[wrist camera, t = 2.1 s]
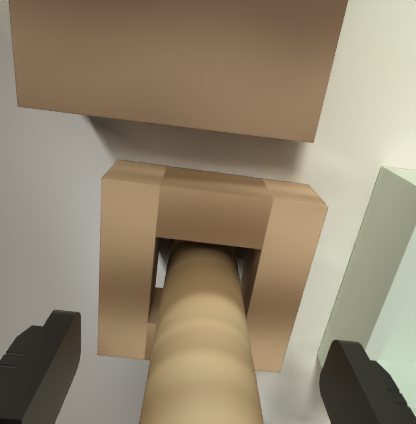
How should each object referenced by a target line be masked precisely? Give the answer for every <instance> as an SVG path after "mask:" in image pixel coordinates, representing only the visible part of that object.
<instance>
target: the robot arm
mask: <svg viewBox="0 0 416 424" xmlns="http://www.w3.org/2000/svg"><path fill="white" fill-rule="evenodd" d="M80 353H81V315H80V313H79V312H72V311H62V310H54V311H53V312H52V313H51V315H50V316H49V318H48V319H47V321H46V323H45V324H44V326H33V325H32V326H31V327H29V328H28V329H27V330H25V331H24V332H23V333H21V334H20V335H19V336H17V337H16V339H15V340H14V341H13V343H12V344H11V346H10V347H9V349H8V350H7V351H6V355H4V356H3V357H2V359H1V360H0V424H55V421H56V419H57V416H58V414H59V412H60V409H61V407H62V404H63V402H64V400H65V397H66V395H67V393H68V390H69V388H70V385H71V383H72V381H73V378H74V376H75V373H76V371H77V368H78V364H79V360H80ZM319 385H320V393H321V396H322V399H323V402H324V405H325V408H326V411H327V413H328V416H329V419H330V422H331V424H416V416H415V415H414V413H413V411H412V410H411V408H410V407H409V406H408V405H407V402H406V400H405V398H404V397H403V395H402V393H400V392H399V391H400V390H399V388H398V387H397V385H396V383H395V382H394V380H393V378H392V377H391V375H390V374H389V373H388V372H387V371H386V370H385V369H384V368H383V367H382V366H381V365H380V364H379V363H378V362H377V361H374V360H370V359H369V357H368V355H367V353H366V352H365V350H364V348H363V346H362V345H361V344H360V343H359V342H355V341H346V340H333V341H332V343H331V345H330V348H329V351H328V354H327V357H326V360H325V362H324V365H323V368H322V371H321V374H320V381H319Z"/></svg>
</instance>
